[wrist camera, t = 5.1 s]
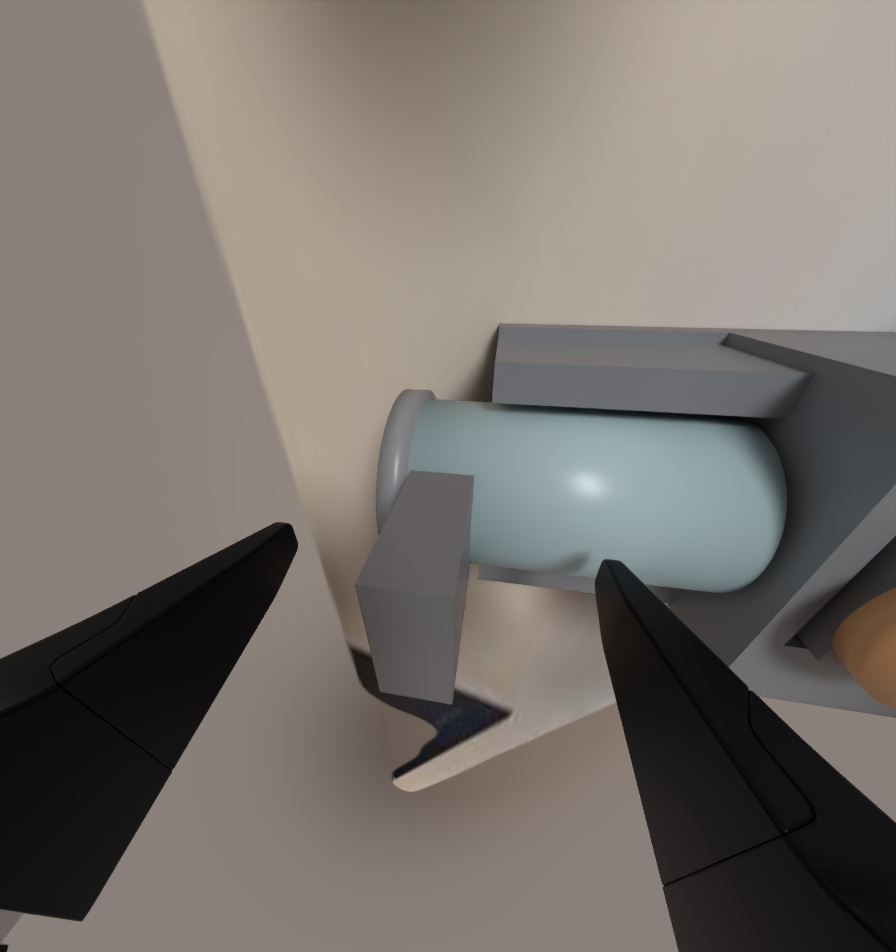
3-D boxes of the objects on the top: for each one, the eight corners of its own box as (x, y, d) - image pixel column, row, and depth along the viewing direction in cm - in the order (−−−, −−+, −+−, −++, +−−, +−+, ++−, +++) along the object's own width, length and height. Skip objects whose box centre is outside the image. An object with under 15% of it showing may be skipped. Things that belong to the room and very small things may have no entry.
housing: (901, 332, 11) (1480, 419, 5) (753, 541, 17) (921, 722, 10) (499, 323, 13) (491, 375, 6) (484, 514, 18) (471, 651, 12)
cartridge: (699, 380, 12) (1127, 618, 4) (642, 515, 16) (797, 792, 7) (421, 369, 13) (283, 523, 5) (426, 495, 17) (350, 708, 9)
